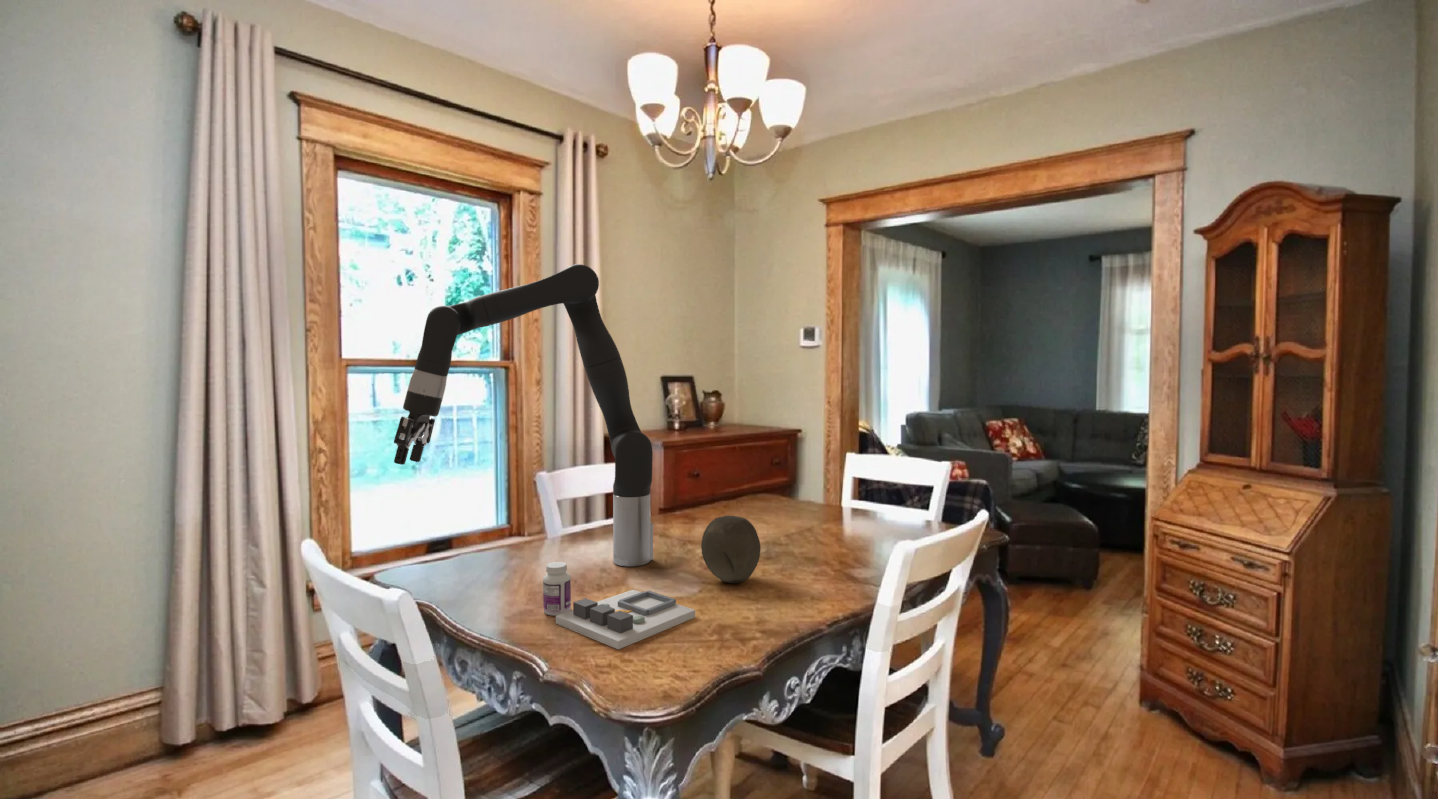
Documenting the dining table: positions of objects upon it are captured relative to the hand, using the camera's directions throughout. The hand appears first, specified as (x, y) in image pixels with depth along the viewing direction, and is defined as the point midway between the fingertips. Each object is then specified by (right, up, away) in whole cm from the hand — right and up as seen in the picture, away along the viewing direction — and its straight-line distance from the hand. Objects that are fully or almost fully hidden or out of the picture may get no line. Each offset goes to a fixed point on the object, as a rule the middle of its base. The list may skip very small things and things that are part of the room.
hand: (407, 462), depth 152 cm
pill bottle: (+37, -29, -16) cm, 50 cm away
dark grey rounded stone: (+73, -28, +4) cm, 78 cm away
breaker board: (+52, -29, -20) cm, 63 cm away
